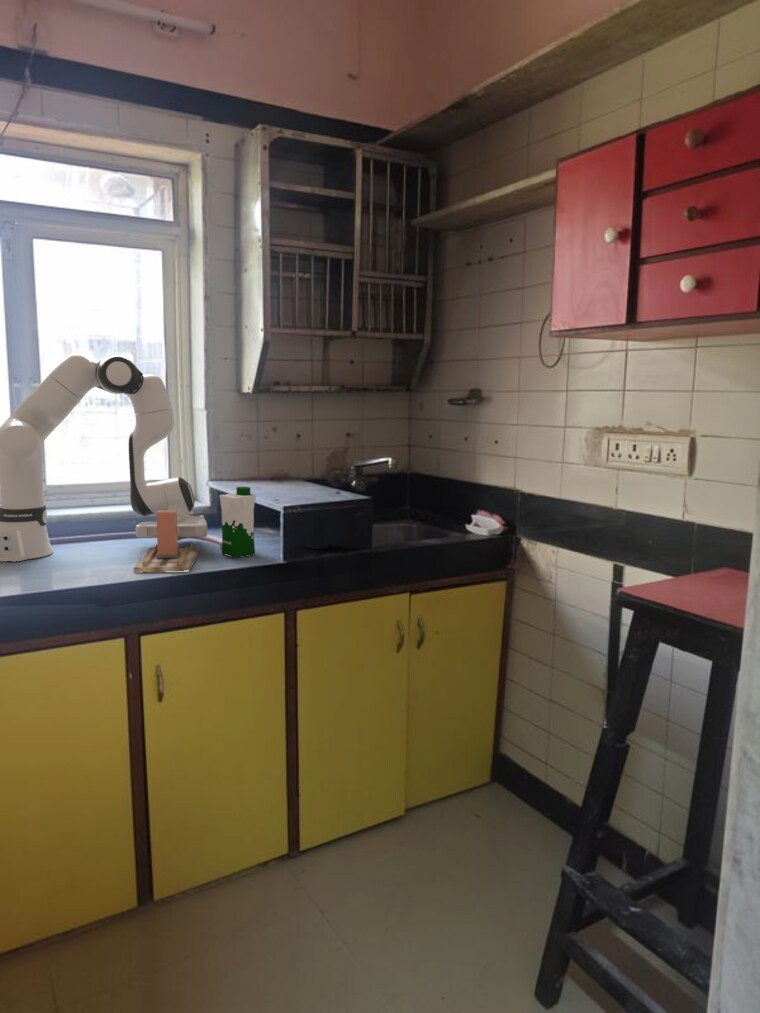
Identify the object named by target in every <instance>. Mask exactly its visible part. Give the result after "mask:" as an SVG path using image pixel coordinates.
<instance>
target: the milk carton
mask: <svg viewBox="0 0 760 1013" xmlns="http://www.w3.org/2000/svg"><path fill="white" fill-rule="evenodd" d="M256 496H257V494H256V495H255V494H252V493H251V487H250V486H237V487H236V492H234V493H225V494H220V495H219V501H220V509H221V530H222V531H221V532H222V534H221V536H222V541H221V543H222V544H221V554H222V553H223V554H227V555H230V556H232V557H231V558H233V557H239V558H242V557H241V556H245V557H248V556H247V555H251V556H254V555H253V554H255V555H256V548H255V547H256V546H255V529H254V528H255V525H254V524H255V518H254V514H255V513H254V512H255V510H254V509H255V503H256ZM223 554H222V555H223Z"/></svg>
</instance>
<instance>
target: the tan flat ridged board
mask: <svg viewBox="0 0 760 1013" xmlns="http://www.w3.org/2000/svg"><path fill="white" fill-rule="evenodd" d="M178 551H180V555H179V557H178V558H156V554H157V553H158V546H157V544H156V545H155V546H154V547H150V548H148V550H147V551H146V553H145V554H144V555H143V556H142V557H141V559H140V560H139V561H138V562H136V563H137V564H135V566H134V567H133V573H134V574H144V573H143V572H166V571H184V570H189V569H190V570H191V568H192V566H193V564H194V562H195V559H196V558H197V556H198V554H199V547H198V546H197V547H192V544H191V543H189V544H187V545H186V546H185V547H178ZM192 563H193V564H192ZM191 565H192V566H191ZM190 567H191V568H190ZM190 570H189V571H190Z"/></svg>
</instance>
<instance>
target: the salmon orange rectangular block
mask: <svg viewBox="0 0 760 1013" xmlns="http://www.w3.org/2000/svg"><path fill="white" fill-rule="evenodd" d="M155 514H156V522H157V537H156V538H157V539H156V540H157V541H156V542H157V544H156V545H157V546H158V553H157V554H156V558H178V557H179V555H180V551H178V548H179V541H178V527H177V510H158V511H157V512H156V513H155Z"/></svg>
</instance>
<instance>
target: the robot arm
mask: <svg viewBox="0 0 760 1013" xmlns="http://www.w3.org/2000/svg"><path fill="white" fill-rule="evenodd" d="M93 388H98V389H101V390H102V391H105V392H107V393H110V394H114V395H115V394H119V395H120V394H124V395H126V396H127V397H128V398H129V399H130V401H131V404H132V407H133V411H134V417H135V427H134V430H133V431H132V432H131V433H129V437H128V462H129V463H128V465H129V480H130V481H129V482H130V485H129V486H130V492H129V494H130V495H129V500H130V501H129V503H130V507H131V508H132V511H133V512H135V513H136V514H138V515H139V516H141V517H148V516H151V515H155V514H156V512H157V511H158V510H177V527H178V542H179V541H181V540H187V539H189V538H191V539H192V538H206V537H208V522H207V520H206V519H205V516H204V515H202V514H201V515H200V514H194V512H193V509H194V507H195V497H194V492H193V488H192V486H191V484H190V483H189V482H188V481H187V480H185V479H184V478H182V477H180V476H179V477H172V478H167V479H162V480H157V481H152V482H147V481H146V480H145V479H146V478H145V462H144V461H145V459H144V457H145V455H146V453H147V451H148V450H149V449H150V448H151V447H153V446H155V445H156V444H158V443H159V442H161V441H163V440H165V438H167V437H168V436H169V435H171V433H172V431H173V429H174V428H175V417H174V416H175V415H174V411H173V407H172V403H171V399H170V395H169V394H168V390H167V388H166V386H165V383H164V381H163V380H162V378H160V377H159V376H158V375H154V374H143V372H141V370H140V369H139V368H138V367H137V366H136V364H134V363H133V361H132V360H130V359H129V358H127V357H125V356H123V355H118V354H115V355H110V356H107V357H104V358H103V359H101V360H97V361H94V360H92V359H91V358H89V357H88V356H86V355H84V354H82V353H78V352H77V353H75V352H73V353H71V354H69V355H67V356H65V358H64V359H62V360H61V361H60V362H59V363H57V364H56V365H55V366H54V367H53V368H52V369H51V370H50V371H49V372H48V373H47V375H46V376H45V377H44V378H43V379H42V380H41V381H40V382H39V384H38V385H37V386H36V387H35V388H34V389H33V390H32V391H31V393H30V394H29V395H28V396H27V397H26V398H25V399H24V401H23V402H22V403H21V404H20V405H19V406H18V407H17V408H16V409H15V410H14V412H12V413H11V415H10V416H9V417H8V418H7V419H6V420H5V421H4V423H2V425H1V426H0V504H1V505H0V562H7V561H12V562H13V563H14V562H16V561H17V562H22V561H25V560H32V559H38V558H42V557H47V556H50V555H51V554H53V553H54V550H53V548H52V545H51V542H50V538H49V534H48V529H47V524H48V522H47V521H48V511H47V506H46V505H45V500H44V499H45V497H44V496H45V495H44V483H43V482H44V480H43V478H44V477H43V458H42V443H43V442H44V441H45V440H46V439H47V438H48V437H49V436H50V435H51V434H52V433H53V432H54V430H55V429H56V428H57V427H58V426H60V424H61V423H63V421H64V420H65V419H66V418H67V416H69V414H70V413H71V412H72V411H73V410H74V409H75V407H76V406H77V405H78V404H79V403H80V402H81V400H82V399H83V398H84V397H85V396H86V395H87V393H88V392H89V391H91V390H92V389H93ZM135 536H136V537H137V538H141V539H143V538H144V539H145V538H146V539H147V538H157V521H142V522H140V523H138V524H136V525H135ZM12 562H11V563H12Z"/></svg>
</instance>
